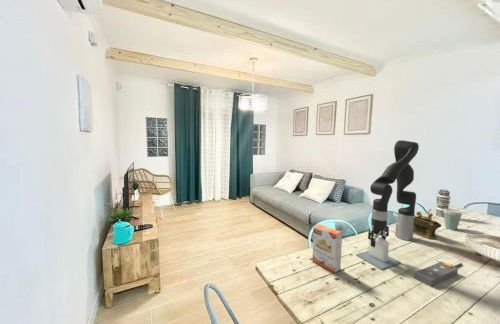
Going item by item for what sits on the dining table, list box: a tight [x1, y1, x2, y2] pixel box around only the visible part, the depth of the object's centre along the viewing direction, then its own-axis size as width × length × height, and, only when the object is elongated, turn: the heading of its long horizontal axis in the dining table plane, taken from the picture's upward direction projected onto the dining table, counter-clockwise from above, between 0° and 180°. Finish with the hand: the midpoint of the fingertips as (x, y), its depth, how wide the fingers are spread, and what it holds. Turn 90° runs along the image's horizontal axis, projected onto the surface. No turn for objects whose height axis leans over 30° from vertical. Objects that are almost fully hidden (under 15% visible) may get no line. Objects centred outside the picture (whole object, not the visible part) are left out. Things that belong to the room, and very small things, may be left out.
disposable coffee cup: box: [443, 208, 463, 231], centre depth 166 cm, size 11×11×15 cm
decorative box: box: [413, 208, 442, 240], centre depth 157 cm, size 20×10×20 cm, turn 19°
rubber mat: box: [355, 250, 402, 271], centre depth 123 cm, size 16×16×1 cm
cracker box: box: [312, 223, 343, 274], centre depth 116 cm, size 14×6×21 cm, turn 37°
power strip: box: [413, 261, 463, 288], centre depth 110 cm, size 7×37×4 cm, turn 114°
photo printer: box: [368, 236, 390, 262], centre depth 123 cm, size 10×4×12 cm, turn 24°
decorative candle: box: [435, 189, 451, 218], centre depth 191 cm, size 9×9×25 cm
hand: (378, 245), depth 123 cm, fingers open, 8 cm apart
